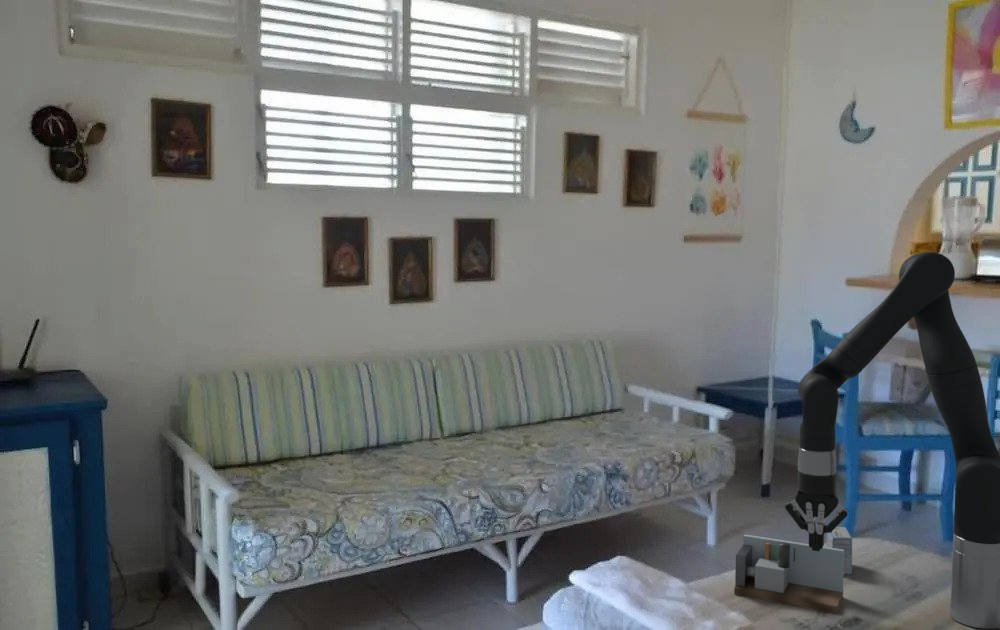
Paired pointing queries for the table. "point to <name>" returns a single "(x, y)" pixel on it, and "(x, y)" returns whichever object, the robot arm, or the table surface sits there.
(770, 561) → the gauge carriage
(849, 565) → the medicine box
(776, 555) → the board
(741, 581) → the textured charcoal block
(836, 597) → the base
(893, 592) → the table surface
